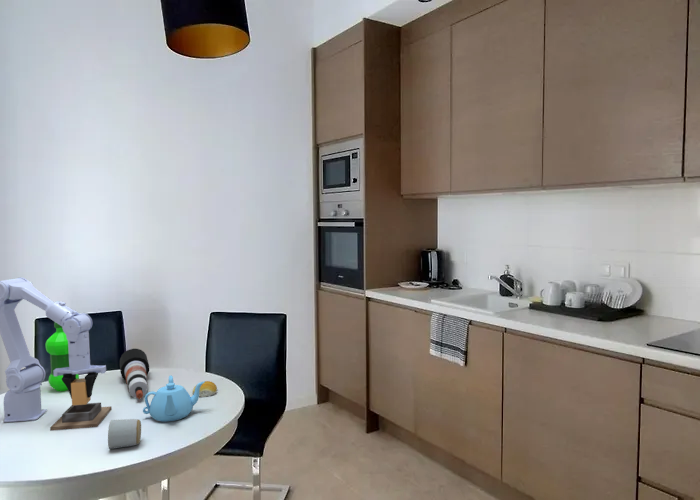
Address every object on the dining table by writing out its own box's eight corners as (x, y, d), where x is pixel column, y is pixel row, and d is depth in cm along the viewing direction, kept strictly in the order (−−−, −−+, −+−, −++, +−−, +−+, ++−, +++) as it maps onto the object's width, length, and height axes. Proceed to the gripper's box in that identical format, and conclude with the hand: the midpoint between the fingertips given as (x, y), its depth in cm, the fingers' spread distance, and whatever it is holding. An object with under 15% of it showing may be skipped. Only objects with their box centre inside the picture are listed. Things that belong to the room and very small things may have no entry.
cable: (133, 416, 169) (117, 393, 166) (128, 377, 199) (114, 357, 196) (161, 398, 173) (146, 376, 169) (152, 363, 203) (138, 343, 199)
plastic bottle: (50, 386, 187) (46, 320, 185) (81, 382, 191) (78, 318, 189) (45, 395, 178) (41, 326, 176) (79, 391, 182) (75, 323, 180)
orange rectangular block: (72, 405, 153) (70, 383, 152) (77, 400, 157) (75, 378, 156) (86, 404, 153) (85, 382, 153) (90, 399, 157) (89, 377, 157)
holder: (50, 430, 148) (49, 418, 148) (68, 412, 162) (68, 401, 161) (97, 426, 150) (96, 415, 150) (111, 409, 164) (111, 398, 163)
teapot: (136, 419, 155) (134, 387, 154) (173, 403, 168) (172, 373, 168) (170, 428, 148) (168, 394, 148) (206, 410, 162) (205, 379, 161)
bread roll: (217, 388, 183) (216, 377, 183) (216, 396, 175) (216, 385, 174) (193, 390, 182) (193, 379, 181) (191, 398, 173) (191, 387, 173)
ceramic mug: (139, 448, 135) (138, 421, 135) (107, 453, 133) (106, 426, 132) (143, 434, 145) (142, 409, 144) (113, 438, 142) (112, 412, 142)
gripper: (48, 358, 149) (50, 403, 150) (100, 355, 152) (102, 399, 152) (57, 352, 156) (60, 395, 157) (107, 349, 159) (109, 391, 159)
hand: (81, 396), depth 155 cm, fingers closed on orange rectangular block, 4 cm apart
